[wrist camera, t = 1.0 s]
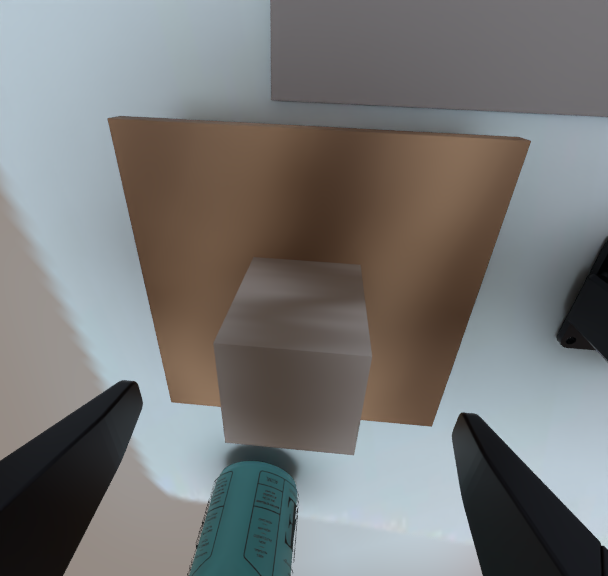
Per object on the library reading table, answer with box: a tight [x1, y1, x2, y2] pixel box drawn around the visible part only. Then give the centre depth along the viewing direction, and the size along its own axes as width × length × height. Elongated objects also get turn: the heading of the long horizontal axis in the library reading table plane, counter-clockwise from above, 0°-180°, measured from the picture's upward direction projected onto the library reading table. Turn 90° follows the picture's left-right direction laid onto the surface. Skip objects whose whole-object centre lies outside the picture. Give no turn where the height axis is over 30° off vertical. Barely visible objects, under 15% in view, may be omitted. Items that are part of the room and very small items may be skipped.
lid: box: [108, 116, 531, 455], centre depth 12 cm, size 13×13×6 cm
